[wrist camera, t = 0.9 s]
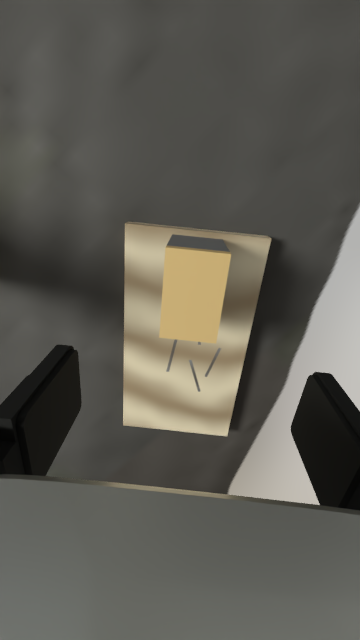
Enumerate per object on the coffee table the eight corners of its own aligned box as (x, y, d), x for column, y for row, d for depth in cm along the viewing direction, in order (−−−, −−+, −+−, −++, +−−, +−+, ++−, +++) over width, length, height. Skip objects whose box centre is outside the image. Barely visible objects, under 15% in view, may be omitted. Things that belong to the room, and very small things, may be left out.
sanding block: (172, 234, 25) (165, 247, 19) (222, 239, 25) (231, 254, 19) (166, 306, 28) (159, 337, 22) (211, 311, 28) (216, 343, 22)
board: (128, 221, 26) (125, 223, 25) (267, 235, 26) (271, 238, 25) (126, 415, 36) (123, 425, 35) (225, 426, 36) (227, 436, 35)
